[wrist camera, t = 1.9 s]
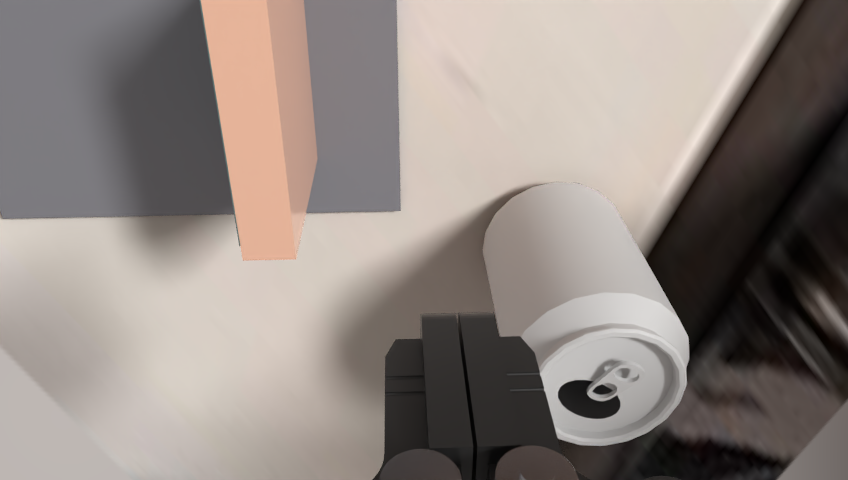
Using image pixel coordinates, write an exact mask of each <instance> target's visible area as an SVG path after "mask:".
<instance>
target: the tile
mask: <svg viewBox="0 0 848 480" xmlns="http://www.w3.org/2000/svg"><path fill="white" fill-rule="evenodd" d="M199 1H200V7H201V13H202V19H203V26H204V32H205V38H206V44H207V50H208V56H209V62H210V68H211V75H212V81H213V87H214V93H215V99H216V105H217V111H218V118H219V124H220V130H221V136H222V142H223V148H224V154H225V161H226V167H227V173H228V179H229V185H230V191H231V197H232V203H233V210H234V216H235V222H236V228H237V234H238V240H239V246H241V252H242V258H243V260H285V259H296V258H297V253H298V248H299V244H300V239H301V234H302V229H303V225H304V220H305V215H306V211H307V206H308V201H309V197H310V192H311V187H312V183H313V178H314V173H315V169H316V164H317V159H318V158H317V146H316V135H315V124H314V112H313V101H312V89H311V78H310V66H309V55H308V43H307V32H306V20H305V9H304V0H199Z"/></svg>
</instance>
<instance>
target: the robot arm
mask: <svg viewBox="0 0 848 480" xmlns="http://www.w3.org/2000/svg"><path fill="white" fill-rule="evenodd" d="M420 325H421V339H398V340H395V342H394V344H393V345H392V347H391V349H390V350H389V352H388V354H387V355H386V357H385V454H384V461H383V464H382V467H381V469H380V471H379V472H378V474H377V475H376V476H375V478H374V479H373V480H590V479H588V478H586V477H584V476H583V475H581V474H580V473H578V472H577V471H576V470H575V469H574V467H573V466H572V464H571V463H570V462H569V461H568V460H567V459H566V458H565V457H564V456H563V454H562V452H561V449H560V445H559V442H558V438H557V434H556V430H555V427H554V423H553V419H552V415H551V412H550V408H549V404H548V400H547V397H546V393H545V391H544V386H543V382H542V378H541V376H540V371H539V367H538V363H537V359H536V356H535V352H534V351H533V350H532V349H531V348H530V347H529V346H528V345H527V343H526V342H525V341H524V340H523V339H522V338H521V337H520V336H506V337H499V334H498V329H497V324H496V319H495V315H494V313H493V312H475V313H458V318H456V313H441V314H421V320H420ZM644 480H680V479H677V478H673V477H667V476H656V477H650V478H647V479H644Z"/></svg>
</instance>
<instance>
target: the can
mask: <svg viewBox="0 0 848 480" xmlns="http://www.w3.org/2000/svg"><path fill="white" fill-rule="evenodd" d="M482 252H483V256H484V261H485V266H486V271H487V276H488V281H489V285H490V290H491V295H492V300H493V305H494V309H495V314H496V319H497V324H498V329H499V334H500V337H506V336H520V337H521V338H522V339H523V340H524V341H525V342H526V343H527V345H528V346H529V347H530V348H531V349H532V350H533V351H534V352H535V356H536V359H537V363H538V367H539V371H540V376H541V378H542V382H543V386H544V391H545V393H546V397H547V400H548V404H549V408H550V412H551V415H552V419H553V423H554V427H555V430H556V434H557V438H558V439H560V440H564V441H567V442H571V443H574V444H578V445H595V446H605V445H610V444H615V443H621V442H626V441H628V440H631V439H633V438H636V437H638V436H640V435H643V434H645V433H647V432H649V431H650V430H652V429H653V428H654V427H656V426H657V425H659V424H660V423H661V422H663V421H664V420H666V419H667V418H668V416H669V415H670V414H671V413H672V411H673V410H674V409H675V408H676V407H677V405H678V404H679V403H680V401H681V398H682V396H683V393H684V390H685V388H686V385H687V378H686V367H687V364H688V361H689V337H688V335H687V333H686V331H685V329H684V328H683V326H682V324H681V322H680V320H679V318H678V316H677V314H676V313H675V311H674V309H673V307H672V306H671V304H670V302H669V300H668V299H667V297H666V295H665V293H664V291H663V290H662V288H661V286H660V284H659V283H658V281H657V279H656V277H655V276H654V274H653V272H652V270H651V269H650V267H649V265H648V263H647V262H646V260H645V258H644V256H643V254H642V253H641V251H640V249H639V247H638V246H637V244H636V242H635V240H634V239H633V237H632V235H631V233H630V232H629V230H628V228H627V226H626V225H625V223H624V221H623V219H622V217H621V216H620V214H619V212H618V210H617V209H616V207H615V205H614V204H613V203H612V202H611V201H610V200H609V199H607V198H606V197H605V196H604V195H603V194H602V193H600V192H599V191H597V190H595V189H592V188H590V187H587V186H584V185H582V184H579V183H567V182H552V183H548V184H543V185H539V186H534V187H531V188H529V189H527V190H526V191H524V192H522V193H520V194H518V195H516V196H514V197H512V198H511V199H510V200H509V201H508V202H507V203H506V204H505V205H504V206H503V207H502V208H501V209H500V210H499V211H497V212H496V213H495V215H494V217H493V219H492V221H491V222H490V224H489V226H488V228H487V230H486V232H485V238H484V244H483V250H482Z"/></svg>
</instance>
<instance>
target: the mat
mask: <svg viewBox="0 0 848 480" xmlns="http://www.w3.org/2000/svg"><path fill="white" fill-rule="evenodd" d="M304 9H305V20H306V32H307V43H308V55H309V66H310V78H311V89H312V101H313V112H314V124H315V135H316V146H317V158H318V159H317V164H316V169H315V173H314V178H313V183H312V187H311V192H310V197H309V201H308V206H307V211H306V213H317V212H368V211H401V208H400V159H399V109H398V60H397V10H396V0H304ZM0 212H1V214H2V217H3V219H8V218H60V217H111V216H163V215H214V214H234V210H233V203H232V197H231V191H230V185H229V179H228V173H227V167H226V161H225V154H224V148H223V142H222V136H221V130H220V124H219V118H218V111H217V105H216V99H215V93H214V87H213V81H212V75H211V68H210V62H209V56H208V50H207V44H206V38H205V32H204V26H203V19H202V13H201V7H200V1H199V0H0Z"/></svg>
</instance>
